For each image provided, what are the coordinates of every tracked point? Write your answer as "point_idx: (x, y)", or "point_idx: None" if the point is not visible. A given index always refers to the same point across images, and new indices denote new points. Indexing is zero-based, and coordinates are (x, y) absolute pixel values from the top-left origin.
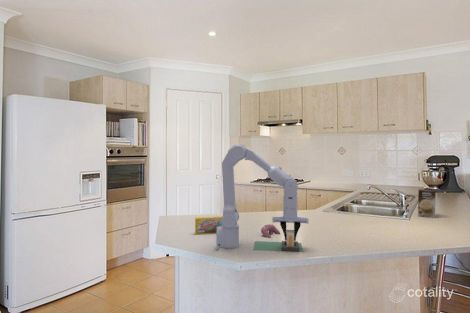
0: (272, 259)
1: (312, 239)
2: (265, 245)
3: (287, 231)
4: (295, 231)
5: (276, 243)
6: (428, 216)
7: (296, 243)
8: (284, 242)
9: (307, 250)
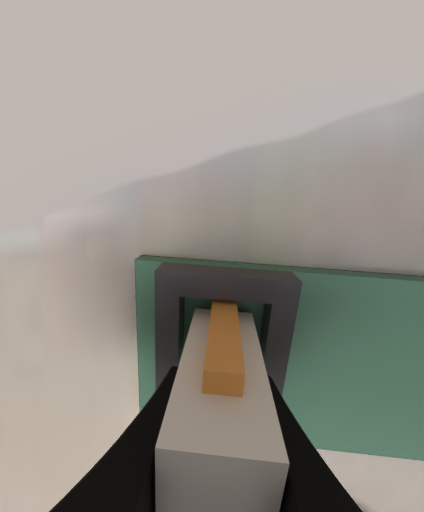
0: (381, 135)
1: None
2: (393, 385)
3: (264, 503)
4: (124, 480)
5: (304, 421)
6: None
7: None
8: None
9: (113, 333)
